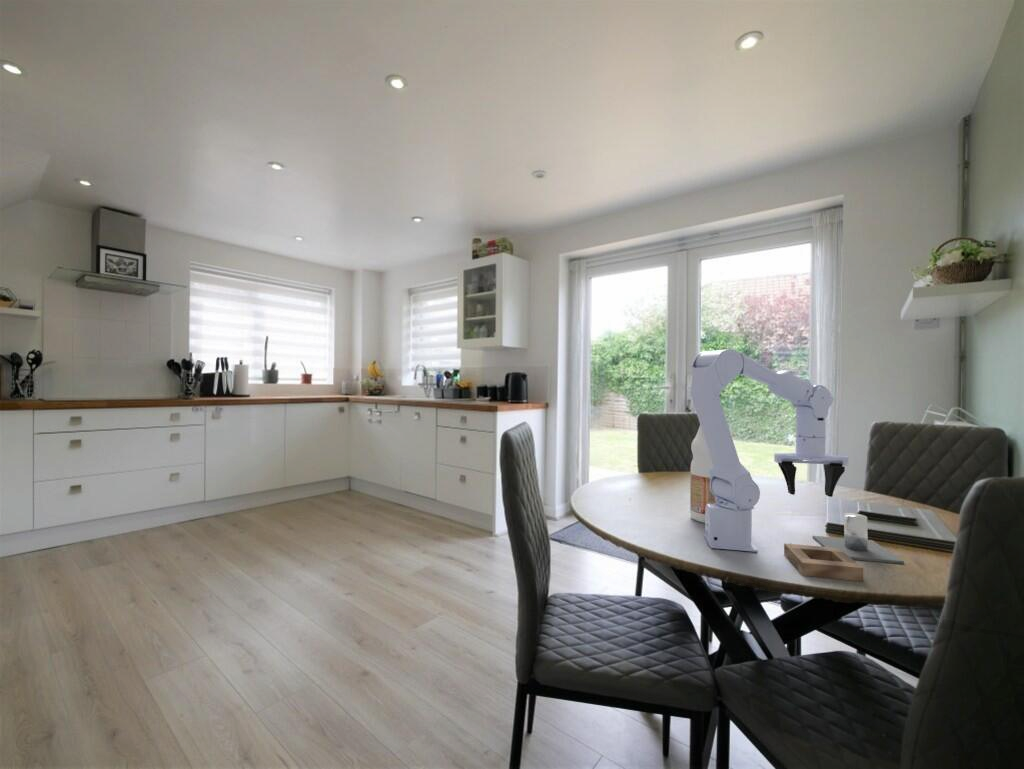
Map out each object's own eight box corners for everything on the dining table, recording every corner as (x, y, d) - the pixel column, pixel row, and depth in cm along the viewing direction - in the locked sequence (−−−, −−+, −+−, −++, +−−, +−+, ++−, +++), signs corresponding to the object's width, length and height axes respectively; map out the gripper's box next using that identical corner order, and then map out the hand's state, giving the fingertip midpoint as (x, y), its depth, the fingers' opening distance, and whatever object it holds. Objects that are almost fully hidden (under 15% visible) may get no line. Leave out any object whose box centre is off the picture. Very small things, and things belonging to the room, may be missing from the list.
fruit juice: (684, 519, 119) (685, 414, 118) (697, 511, 125) (698, 412, 125) (721, 527, 112) (722, 416, 112) (733, 518, 119) (734, 414, 119)
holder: (802, 575, 85) (802, 562, 85) (784, 555, 95) (784, 543, 95) (863, 581, 83) (863, 567, 83) (838, 559, 92) (838, 547, 92)
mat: (835, 557, 93) (836, 555, 93) (812, 537, 105) (812, 535, 105) (904, 563, 90) (904, 561, 90) (872, 542, 102) (872, 540, 102)
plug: (848, 549, 96) (847, 517, 96) (842, 543, 100) (841, 512, 100) (870, 552, 95) (870, 519, 95) (863, 545, 98) (863, 514, 99)
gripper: (781, 437, 102) (780, 497, 102) (855, 439, 98) (854, 501, 98) (771, 433, 109) (771, 489, 109) (840, 435, 105) (839, 493, 105)
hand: (809, 494), depth 104 cm, fingers open, 7 cm apart
